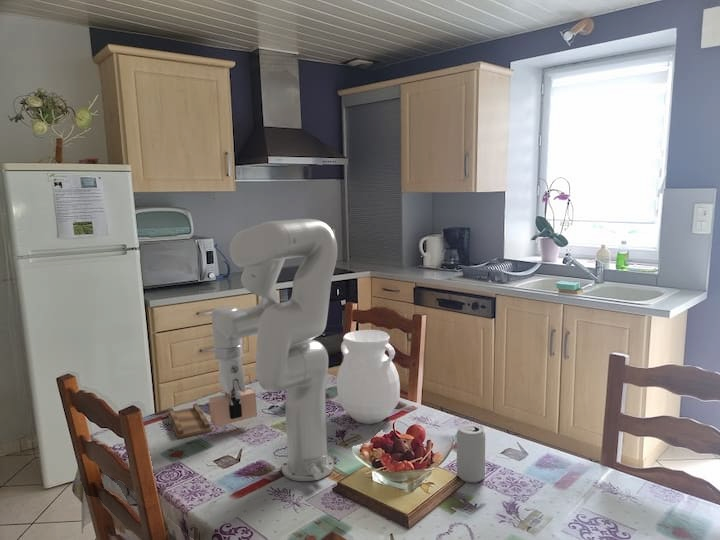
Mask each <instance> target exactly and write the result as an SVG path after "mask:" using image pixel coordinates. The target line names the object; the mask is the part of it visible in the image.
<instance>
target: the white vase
mask: <svg viewBox="0 0 720 540" xmlns="http://www.w3.org/2000/svg"><path fill="white" fill-rule="evenodd" d="M342 339H343V341H342V342H341V345H340V350H341V352H342V353H341V354H342V355H343V360H342V362H341V363H340V366H339V367H338V370H337V375H336V390H337V397H338V399H339V402H340V405H341V408H342V409H343V410H344V412H346V414H347V415H349V416H350V417H351V418H352V419H353V420H355V421H356V422H357V423H360V424H367V425H369V424H370V425H372V424H377V423H380V422H382V421H384V420H385V419H386V418H387V417H389V415H391V414H392V413H393V411H394V410H395V408H396V407H397V406H398V405H399V401H400V397H401V396H400V395H401V393H400V392H401V384H400V383H401V382H400V376H399V373H398V370H397V368H396V365H395V363H394V362H393V359H394V358H395V355H396V351H395V348H394V347H393V346H392V345H391V344H390V343H389V341H390V335H389V333H387V332H386V331H383V330H381V329H380V330H379V329H362V330H361V329H359V330H355V331H354V330H353V331H351V332H347V333H345V334H344V336H343V337H342ZM386 351H387V353H388V355H387V354H386Z"/></svg>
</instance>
